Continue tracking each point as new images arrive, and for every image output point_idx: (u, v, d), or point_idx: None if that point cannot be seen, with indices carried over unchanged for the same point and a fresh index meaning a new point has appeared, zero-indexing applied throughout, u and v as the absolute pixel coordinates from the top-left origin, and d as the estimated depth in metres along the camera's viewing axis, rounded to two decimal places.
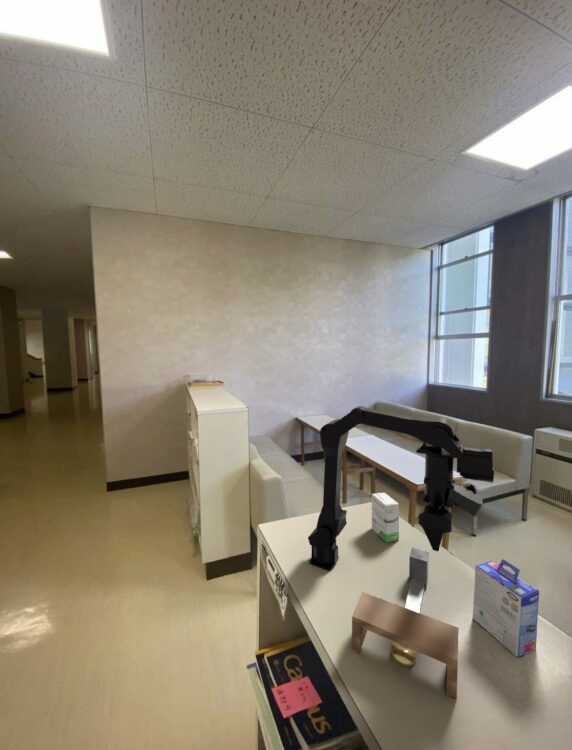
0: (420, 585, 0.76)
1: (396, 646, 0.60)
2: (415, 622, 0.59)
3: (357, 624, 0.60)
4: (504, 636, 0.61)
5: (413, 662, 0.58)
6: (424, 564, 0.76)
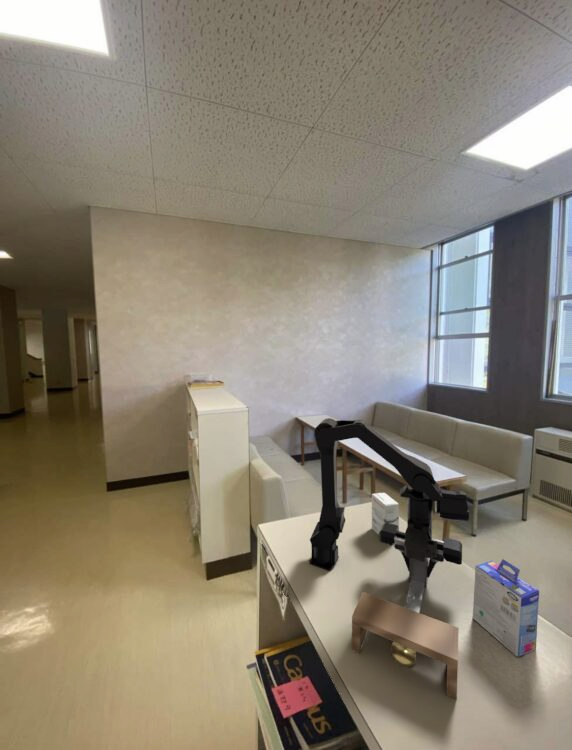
0: (420, 585, 0.76)
1: (396, 646, 0.60)
2: (415, 622, 0.59)
3: (357, 624, 0.60)
4: (504, 636, 0.61)
5: (413, 662, 0.58)
6: (424, 563, 0.76)
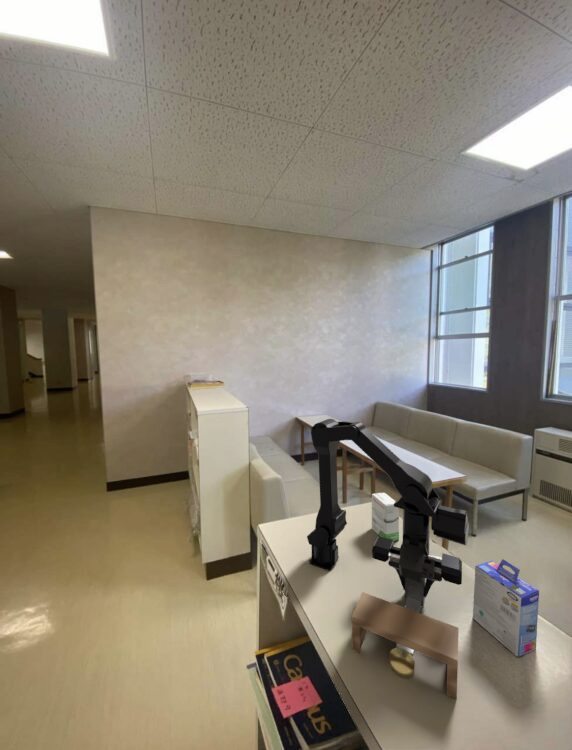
0: (417, 604, 0.70)
1: (394, 654, 0.58)
2: (415, 622, 0.59)
3: (357, 624, 0.60)
4: (504, 636, 0.61)
5: (412, 671, 0.56)
6: None
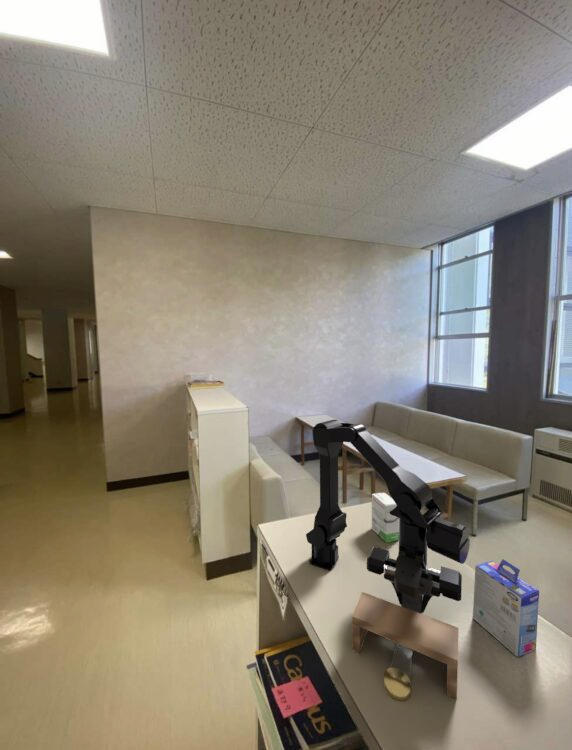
0: None
1: (389, 675, 0.55)
2: (415, 622, 0.59)
3: (357, 624, 0.60)
4: (504, 636, 0.61)
5: (408, 694, 0.52)
6: None
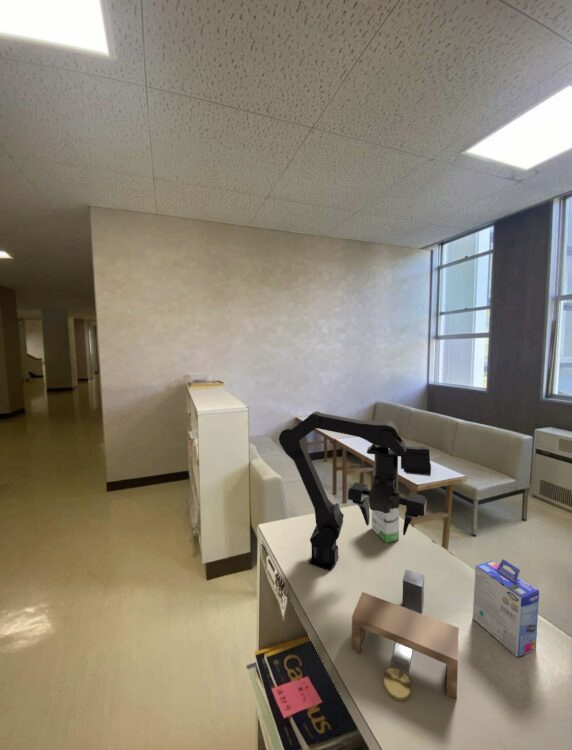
0: None
1: (389, 676, 0.55)
2: (415, 622, 0.59)
3: (357, 624, 0.60)
4: (504, 636, 0.61)
5: (408, 694, 0.52)
6: (418, 589, 0.68)
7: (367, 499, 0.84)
